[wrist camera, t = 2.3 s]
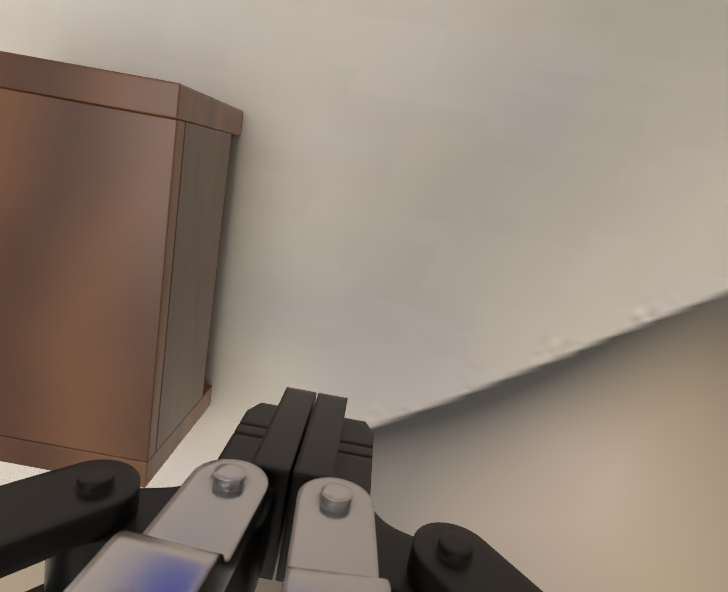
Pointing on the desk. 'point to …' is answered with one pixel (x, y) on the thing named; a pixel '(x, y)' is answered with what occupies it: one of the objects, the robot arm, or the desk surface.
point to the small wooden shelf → (105, 261)
